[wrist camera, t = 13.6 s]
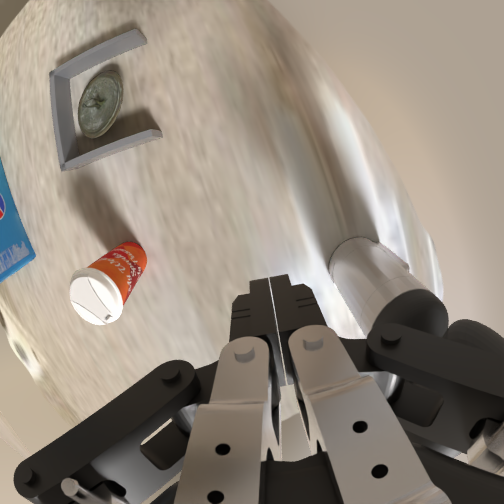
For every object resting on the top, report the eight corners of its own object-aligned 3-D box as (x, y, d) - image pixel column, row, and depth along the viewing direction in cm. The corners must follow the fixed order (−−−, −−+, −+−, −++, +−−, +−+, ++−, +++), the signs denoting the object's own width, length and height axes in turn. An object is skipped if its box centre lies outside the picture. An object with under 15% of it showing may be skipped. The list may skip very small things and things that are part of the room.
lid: (127, 139, 35) (112, 138, 30) (75, 138, 34) (57, 138, 29) (139, 72, 31) (126, 63, 26) (86, 76, 30) (70, 70, 26)
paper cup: (162, 260, 41) (130, 307, 28) (134, 288, 43) (100, 338, 30) (128, 224, 39) (81, 258, 26) (102, 255, 41) (57, 295, 28)
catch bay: (146, 38, 29) (136, 28, 25) (162, 137, 35) (152, 136, 31) (64, 76, 30) (49, 72, 25) (77, 168, 36) (61, 171, 31)
